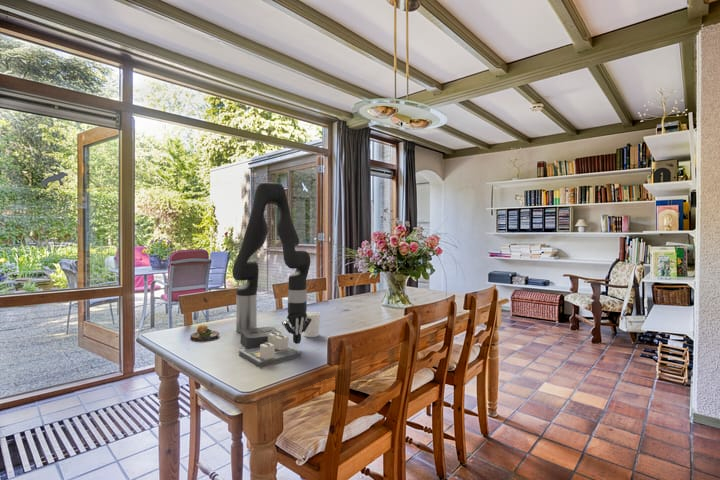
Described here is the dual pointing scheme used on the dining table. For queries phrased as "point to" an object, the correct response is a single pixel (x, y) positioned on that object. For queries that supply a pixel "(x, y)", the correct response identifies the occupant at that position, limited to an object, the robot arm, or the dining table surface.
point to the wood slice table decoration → (204, 334)
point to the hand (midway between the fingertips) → (296, 343)
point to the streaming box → (256, 336)
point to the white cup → (313, 324)
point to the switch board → (281, 355)
